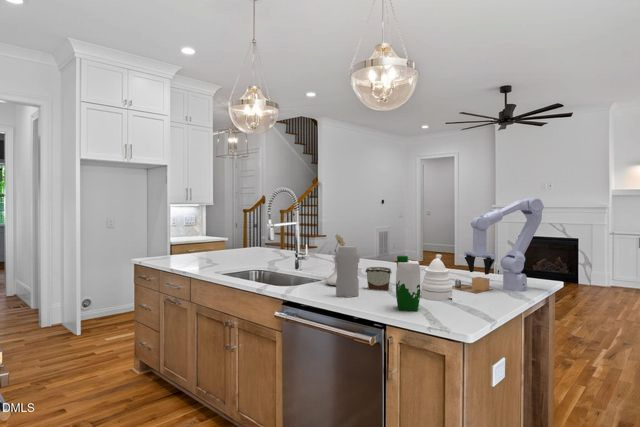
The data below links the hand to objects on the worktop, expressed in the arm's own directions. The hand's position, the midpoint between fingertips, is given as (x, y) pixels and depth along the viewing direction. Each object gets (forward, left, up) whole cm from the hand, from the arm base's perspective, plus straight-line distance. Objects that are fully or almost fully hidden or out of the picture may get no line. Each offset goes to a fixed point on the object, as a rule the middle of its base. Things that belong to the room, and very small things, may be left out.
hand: (479, 273), depth 183 cm
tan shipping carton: (-1, 0, -7) cm, 7 cm away
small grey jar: (+7, +5, -7) cm, 12 cm away
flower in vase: (+51, +41, -9) cm, 66 cm away
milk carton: (0, +49, -9) cm, 50 cm away
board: (+3, +3, -8) cm, 10 cm away
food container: (+31, +32, -9) cm, 46 cm away
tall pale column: (+29, +54, -9) cm, 62 cm away
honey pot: (+5, +24, -9) cm, 26 cm away
